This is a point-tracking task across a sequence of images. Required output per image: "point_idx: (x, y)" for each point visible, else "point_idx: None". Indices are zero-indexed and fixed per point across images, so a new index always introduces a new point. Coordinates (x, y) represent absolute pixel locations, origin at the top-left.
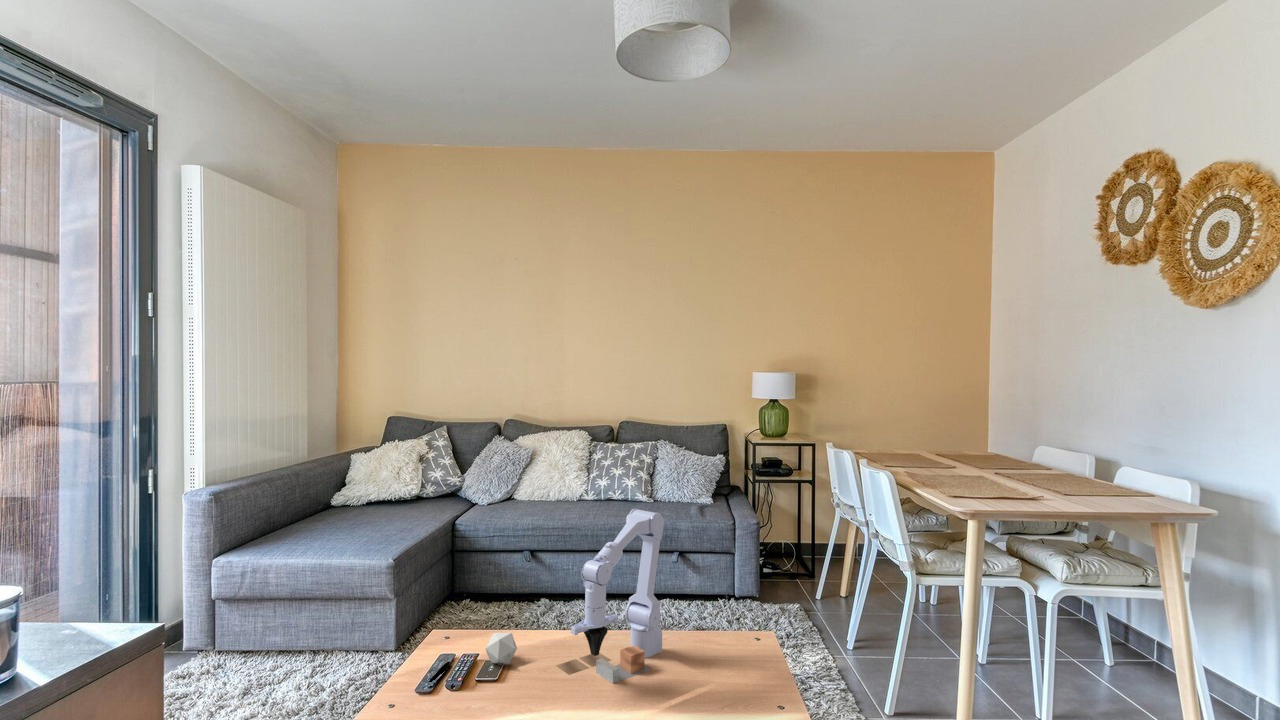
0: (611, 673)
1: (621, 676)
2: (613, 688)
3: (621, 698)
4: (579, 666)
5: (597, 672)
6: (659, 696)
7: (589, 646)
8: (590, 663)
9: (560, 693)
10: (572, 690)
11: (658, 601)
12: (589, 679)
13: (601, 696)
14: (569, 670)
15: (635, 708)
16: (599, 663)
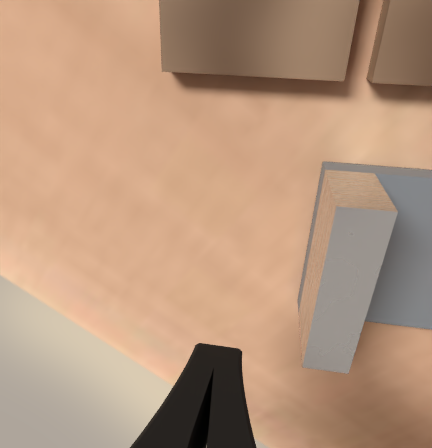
0: (302, 341)
1: (395, 296)
2: (293, 308)
3: (258, 371)
4: (303, 8)
5: (323, 188)
6: (381, 442)
7: (170, 394)
8: (411, 21)
9: (53, 182)
10: (119, 199)
11: None
12: (264, 167)
13: (202, 317)
14: (201, 14)
15: None
16: (326, 242)
